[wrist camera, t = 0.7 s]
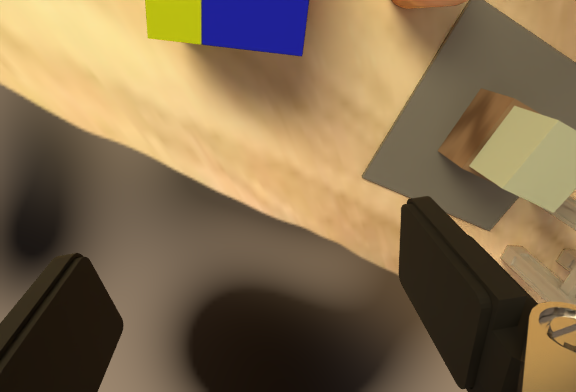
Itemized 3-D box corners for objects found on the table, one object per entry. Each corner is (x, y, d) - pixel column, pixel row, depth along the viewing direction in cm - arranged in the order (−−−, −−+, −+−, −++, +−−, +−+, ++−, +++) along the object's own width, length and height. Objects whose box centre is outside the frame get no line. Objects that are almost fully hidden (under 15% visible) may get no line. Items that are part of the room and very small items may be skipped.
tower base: (480, 88, 34) (514, 98, 30) (531, 117, 36) (569, 130, 32) (437, 150, 37) (462, 168, 33) (486, 174, 39) (515, 193, 35)
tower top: (514, 105, 30) (558, 120, 26) (561, 133, 32) (610, 151, 28) (469, 166, 33) (502, 188, 28) (515, 188, 35) (553, 213, 30)
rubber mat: (472, -6, 31) (475, -6, 30) (609, 87, 36) (612, 87, 36) (361, 176, 38) (362, 177, 38) (487, 229, 44) (489, 231, 44)
